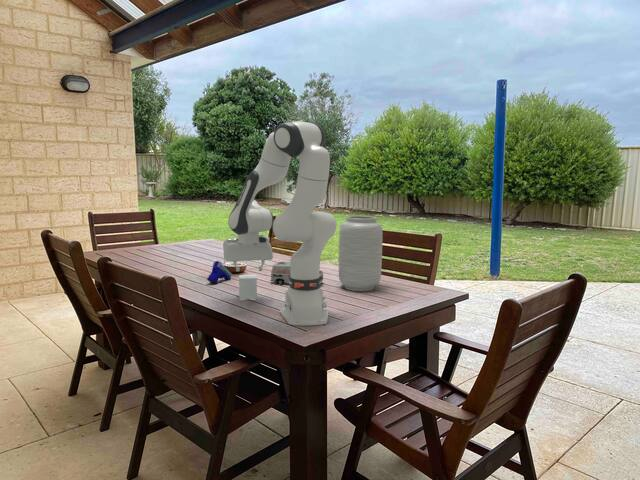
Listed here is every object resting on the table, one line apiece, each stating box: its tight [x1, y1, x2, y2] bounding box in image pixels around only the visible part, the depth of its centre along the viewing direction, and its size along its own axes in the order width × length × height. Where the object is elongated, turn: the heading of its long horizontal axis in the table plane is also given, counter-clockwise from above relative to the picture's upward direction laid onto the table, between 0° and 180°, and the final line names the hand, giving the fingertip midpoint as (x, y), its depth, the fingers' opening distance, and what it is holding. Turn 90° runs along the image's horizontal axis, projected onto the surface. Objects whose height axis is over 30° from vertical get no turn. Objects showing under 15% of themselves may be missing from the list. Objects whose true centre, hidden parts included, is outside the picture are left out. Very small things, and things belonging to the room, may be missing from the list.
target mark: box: [239, 298, 258, 302], centre depth 198 cm, size 9×9×1 cm
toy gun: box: [206, 260, 233, 285], centre depth 227 cm, size 4×13×10 cm
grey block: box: [238, 274, 258, 300], centre depth 200 cm, size 7×7×9 cm
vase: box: [338, 215, 383, 292], centre depth 217 cm, size 20×20×34 cm
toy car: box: [270, 261, 324, 286], centre depth 226 cm, size 11×25×10 cm, turn 79°
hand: (249, 271), depth 196 cm, fingers open, 8 cm apart
